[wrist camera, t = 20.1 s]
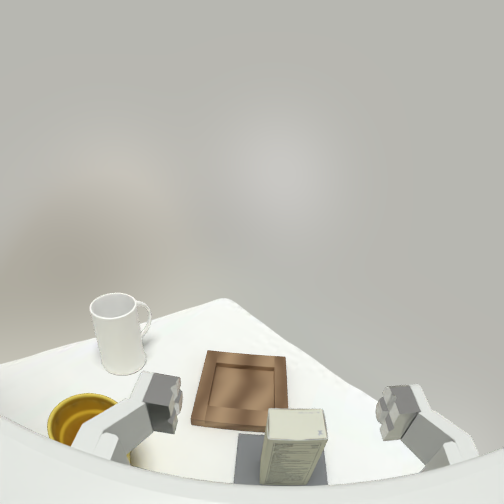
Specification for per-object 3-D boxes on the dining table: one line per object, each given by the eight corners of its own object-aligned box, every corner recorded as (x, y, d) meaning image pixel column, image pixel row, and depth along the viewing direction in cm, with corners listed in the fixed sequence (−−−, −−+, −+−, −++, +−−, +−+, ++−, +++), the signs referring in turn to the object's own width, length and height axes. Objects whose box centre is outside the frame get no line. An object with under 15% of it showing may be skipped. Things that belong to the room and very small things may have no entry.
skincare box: (305, 460, 35) (325, 407, 30) (306, 486, 31) (330, 439, 26) (258, 459, 35) (268, 405, 31) (257, 486, 31) (267, 438, 26)
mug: (144, 333, 59) (138, 281, 55) (169, 355, 54) (164, 300, 50) (94, 356, 51) (80, 301, 46) (115, 382, 46) (100, 326, 41)
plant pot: (118, 424, 38) (102, 380, 34) (159, 471, 32) (146, 433, 28) (61, 451, 31) (35, 410, 27) (97, 506, 25) (68, 473, 21)
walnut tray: (191, 424, 40) (190, 418, 40) (207, 356, 55) (207, 350, 55) (287, 433, 40) (288, 427, 40) (284, 363, 55) (285, 356, 54)
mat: (231, 507, 28) (231, 505, 28) (238, 435, 39) (238, 433, 39) (328, 507, 28) (329, 506, 28) (321, 438, 39) (322, 436, 39)
